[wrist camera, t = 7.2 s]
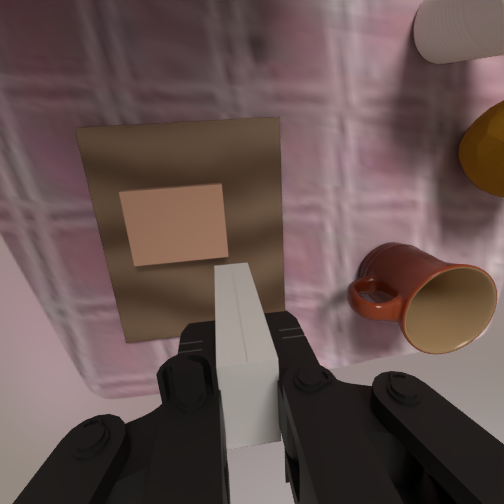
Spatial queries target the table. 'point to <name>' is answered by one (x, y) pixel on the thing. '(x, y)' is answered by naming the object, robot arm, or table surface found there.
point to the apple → (485, 151)
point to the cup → (459, 30)
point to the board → (178, 174)
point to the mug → (424, 297)
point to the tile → (175, 223)
